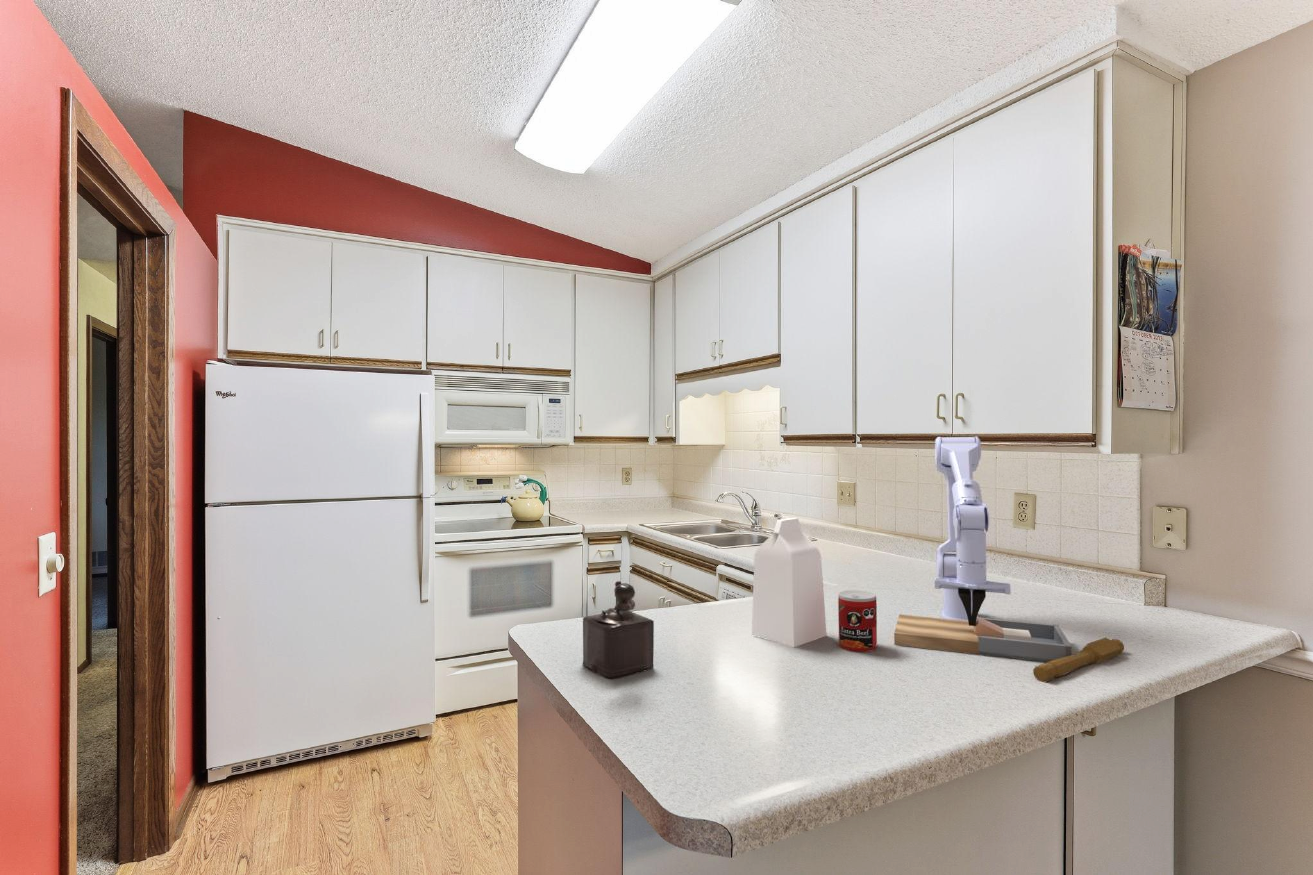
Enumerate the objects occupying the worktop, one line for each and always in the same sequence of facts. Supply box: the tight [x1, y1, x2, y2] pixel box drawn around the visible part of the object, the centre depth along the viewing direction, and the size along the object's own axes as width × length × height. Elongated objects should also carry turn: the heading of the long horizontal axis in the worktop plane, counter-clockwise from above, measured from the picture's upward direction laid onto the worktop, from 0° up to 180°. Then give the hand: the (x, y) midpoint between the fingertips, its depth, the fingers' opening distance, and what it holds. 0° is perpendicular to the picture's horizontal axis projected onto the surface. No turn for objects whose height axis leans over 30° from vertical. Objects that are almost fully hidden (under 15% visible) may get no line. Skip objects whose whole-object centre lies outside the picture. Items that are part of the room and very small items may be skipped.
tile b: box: [1002, 628, 1031, 641], centre depth 134 cm, size 5×5×2 cm
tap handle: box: [1032, 636, 1125, 683], centre depth 123 cm, size 3×3×30 cm
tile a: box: [973, 616, 1004, 638], centre depth 136 cm, size 5×5×2 cm
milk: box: [751, 517, 828, 648], centre depth 144 cm, size 12×12×26 cm
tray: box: [978, 617, 1073, 663], centre depth 134 cm, size 16×16×4 cm
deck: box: [893, 614, 979, 655], centre depth 140 cm, size 16×16×2 cm
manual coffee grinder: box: [582, 580, 655, 679], centre depth 123 cm, size 16×11×18 cm
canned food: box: [837, 589, 878, 653], centre depth 136 cm, size 8×8×11 cm
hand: (972, 624), depth 138 cm, fingers closed
